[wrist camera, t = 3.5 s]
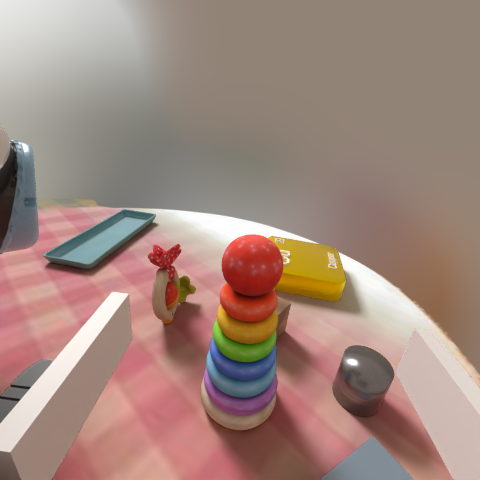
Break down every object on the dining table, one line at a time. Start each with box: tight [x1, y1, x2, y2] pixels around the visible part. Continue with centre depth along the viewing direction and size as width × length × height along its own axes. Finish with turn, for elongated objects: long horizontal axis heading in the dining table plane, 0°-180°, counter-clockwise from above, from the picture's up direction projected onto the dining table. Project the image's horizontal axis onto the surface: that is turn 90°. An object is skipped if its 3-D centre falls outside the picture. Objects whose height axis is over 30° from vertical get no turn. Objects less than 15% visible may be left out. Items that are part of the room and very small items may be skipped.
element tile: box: [268, 236, 346, 301], centre depth 54 cm, size 15×15×5 cm
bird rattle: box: [148, 244, 196, 324], centre depth 38 cm, size 6×11×9 cm
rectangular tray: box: [43, 209, 156, 269], centre depth 60 cm, size 26×9×2 cm, turn 171°
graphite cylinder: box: [333, 345, 394, 417], centre depth 30 cm, size 5×5×5 cm
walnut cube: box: [275, 296, 291, 338], centre depth 38 cm, size 5×5×5 cm
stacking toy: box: [201, 235, 283, 430], centre depth 26 cm, size 8×8×19 cm
